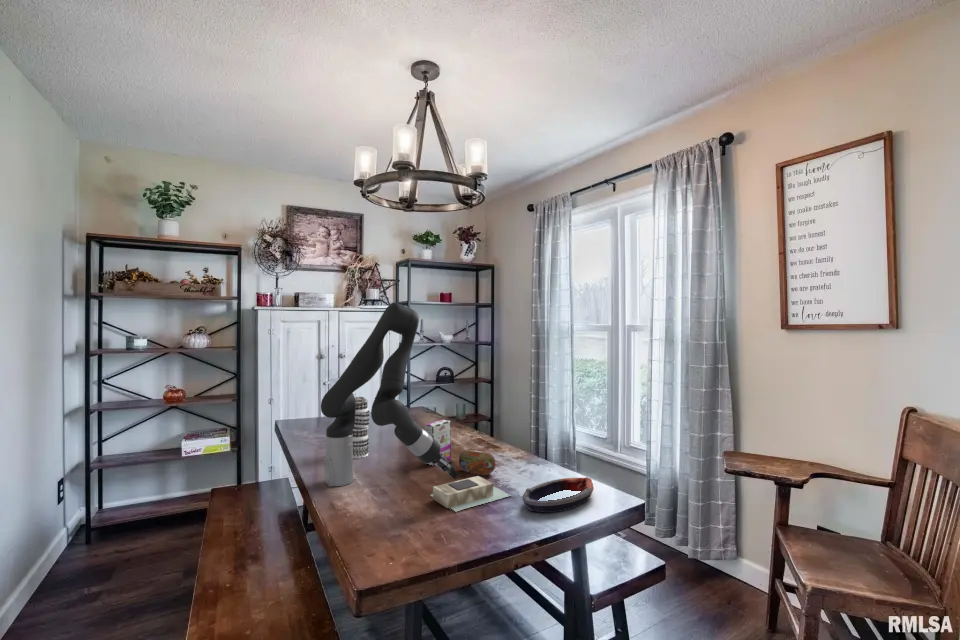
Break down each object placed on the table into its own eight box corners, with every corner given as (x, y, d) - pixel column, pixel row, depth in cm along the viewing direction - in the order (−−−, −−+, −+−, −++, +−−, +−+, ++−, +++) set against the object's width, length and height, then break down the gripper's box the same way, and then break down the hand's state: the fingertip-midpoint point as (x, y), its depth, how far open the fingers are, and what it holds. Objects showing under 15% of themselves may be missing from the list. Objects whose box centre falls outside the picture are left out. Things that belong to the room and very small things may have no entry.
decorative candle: (366, 458, 194) (366, 399, 194) (344, 458, 194) (344, 399, 194) (372, 452, 203) (372, 396, 203) (351, 452, 203) (351, 395, 203)
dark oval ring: (509, 505, 147) (509, 489, 147) (575, 484, 165) (575, 470, 165) (543, 522, 135) (543, 505, 135) (610, 498, 153) (610, 483, 153)
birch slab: (447, 494, 143) (493, 482, 154) (433, 485, 151) (478, 474, 161) (447, 508, 143) (493, 495, 154) (433, 498, 151) (478, 487, 161)
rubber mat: (455, 512, 141) (455, 511, 141) (430, 495, 154) (430, 494, 154) (511, 496, 154) (511, 495, 154) (483, 482, 167) (483, 481, 167)
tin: (458, 470, 179) (458, 449, 179) (462, 468, 182) (462, 447, 182) (492, 477, 172) (492, 454, 172) (496, 474, 175) (496, 452, 175)
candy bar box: (442, 457, 196) (442, 419, 196) (451, 459, 193) (451, 420, 193) (424, 464, 187) (424, 424, 187) (433, 466, 184) (433, 425, 184)
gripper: (440, 440, 139) (474, 472, 147) (420, 431, 150) (452, 461, 157) (425, 460, 136) (459, 492, 144) (405, 449, 147) (438, 480, 154)
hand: (455, 476), depth 150 cm, fingers closed
